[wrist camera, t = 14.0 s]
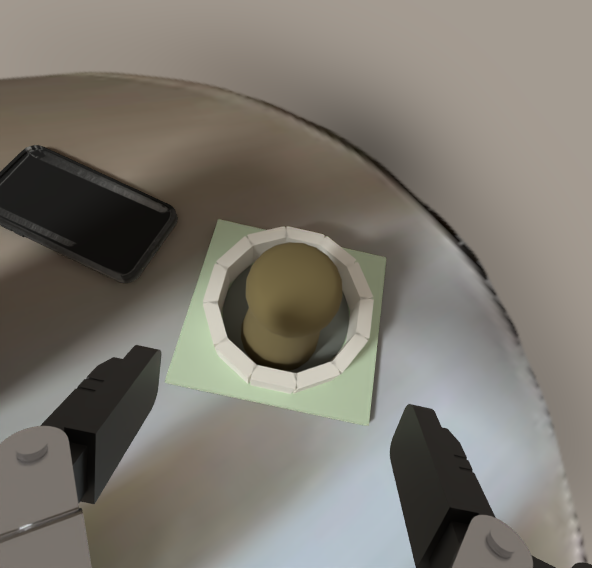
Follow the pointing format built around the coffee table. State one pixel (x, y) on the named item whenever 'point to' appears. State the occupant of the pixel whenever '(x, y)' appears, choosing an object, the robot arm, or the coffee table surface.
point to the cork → (289, 304)
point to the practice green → (330, 348)
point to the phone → (82, 213)
